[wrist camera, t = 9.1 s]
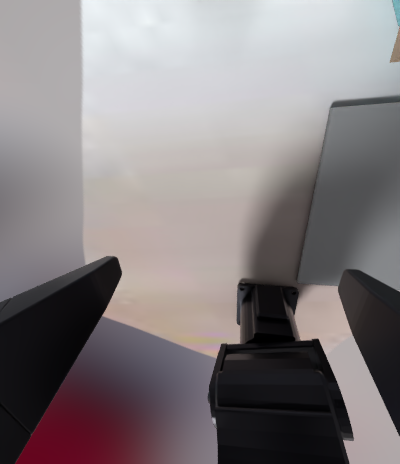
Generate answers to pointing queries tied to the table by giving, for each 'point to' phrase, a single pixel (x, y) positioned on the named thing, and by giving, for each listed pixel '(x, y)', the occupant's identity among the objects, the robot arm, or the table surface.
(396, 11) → the bowl
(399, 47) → the cover board
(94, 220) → the table surface
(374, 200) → the mat
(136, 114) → the table surface
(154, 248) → the table surface
